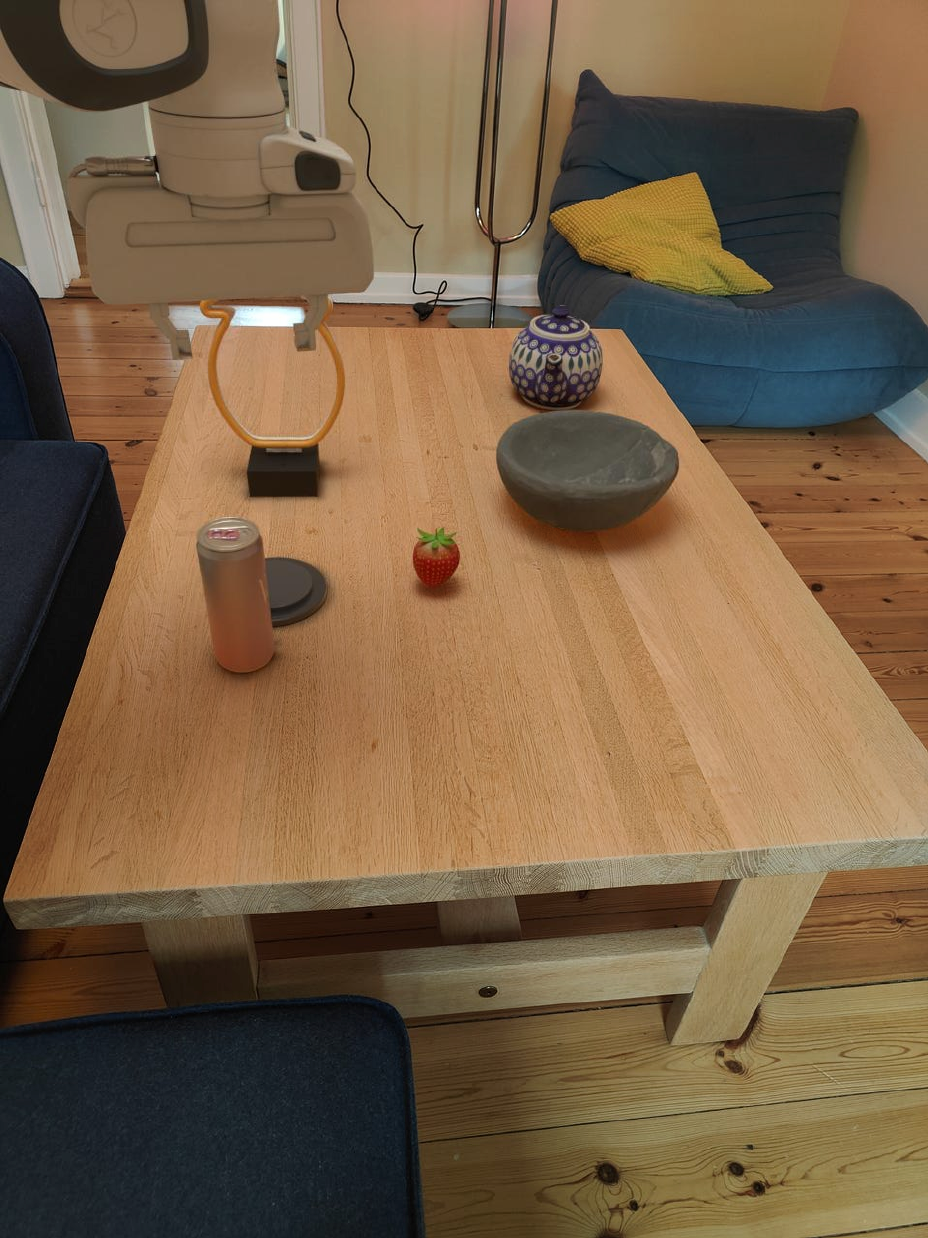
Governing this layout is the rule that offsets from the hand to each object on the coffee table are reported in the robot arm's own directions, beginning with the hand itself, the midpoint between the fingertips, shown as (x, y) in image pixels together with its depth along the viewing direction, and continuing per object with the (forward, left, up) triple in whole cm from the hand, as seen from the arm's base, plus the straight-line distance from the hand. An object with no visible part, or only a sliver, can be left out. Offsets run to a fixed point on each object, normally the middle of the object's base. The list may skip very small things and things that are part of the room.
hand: (245, 352), depth 67 cm
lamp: (+6, +37, -33) cm, 49 cm away
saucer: (+1, +12, -32) cm, 34 cm away
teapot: (+52, +55, -33) cm, 82 cm away
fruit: (+19, +9, -33) cm, 39 cm away
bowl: (+42, +21, -33) cm, 57 cm away
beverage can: (-3, +2, -33) cm, 33 cm away
